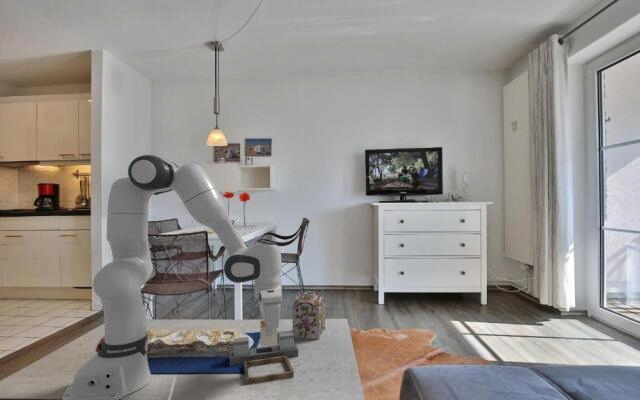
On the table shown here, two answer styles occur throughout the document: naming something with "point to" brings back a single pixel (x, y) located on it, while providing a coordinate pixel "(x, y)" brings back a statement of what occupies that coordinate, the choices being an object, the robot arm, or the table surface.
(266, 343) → the block
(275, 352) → the fuse holder
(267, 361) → the brown wooden frame
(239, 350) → the block
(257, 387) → the table surface
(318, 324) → the decorative jar
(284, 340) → the right fuse
